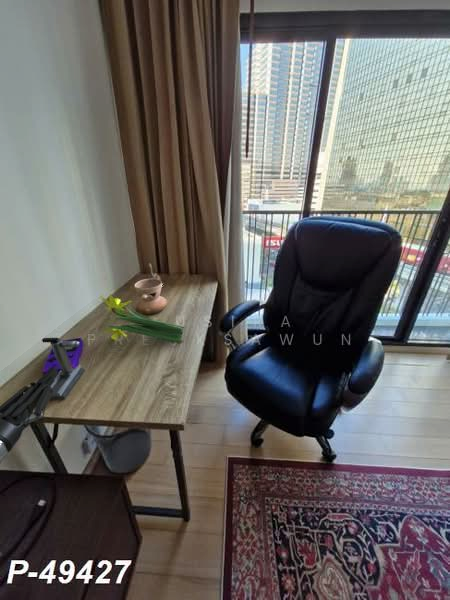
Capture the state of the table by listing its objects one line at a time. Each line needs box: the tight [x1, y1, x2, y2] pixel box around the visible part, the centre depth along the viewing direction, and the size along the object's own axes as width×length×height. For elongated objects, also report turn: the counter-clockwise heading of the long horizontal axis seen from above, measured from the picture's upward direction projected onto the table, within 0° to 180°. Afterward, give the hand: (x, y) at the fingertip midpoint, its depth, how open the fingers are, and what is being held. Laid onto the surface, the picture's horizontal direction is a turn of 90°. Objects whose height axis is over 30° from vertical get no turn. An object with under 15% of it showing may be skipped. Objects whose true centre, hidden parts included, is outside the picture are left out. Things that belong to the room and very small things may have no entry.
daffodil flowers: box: [100, 293, 185, 344], centre depth 99 cm, size 17×15×35 cm
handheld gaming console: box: [41, 337, 84, 376], centre depth 89 cm, size 9×5×15 cm
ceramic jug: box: [134, 278, 168, 315], centre depth 121 cm, size 18×14×14 cm
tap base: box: [50, 364, 86, 401], centre depth 79 cm, size 7×12×3 cm, turn 1°
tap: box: [41, 337, 80, 377], centre depth 79 cm, size 10×3×14 cm, turn 91°
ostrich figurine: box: [146, 263, 162, 281], centre depth 141 cm, size 17×7×18 cm, turn 170°
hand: (54, 370), depth 75 cm, fingers closed
